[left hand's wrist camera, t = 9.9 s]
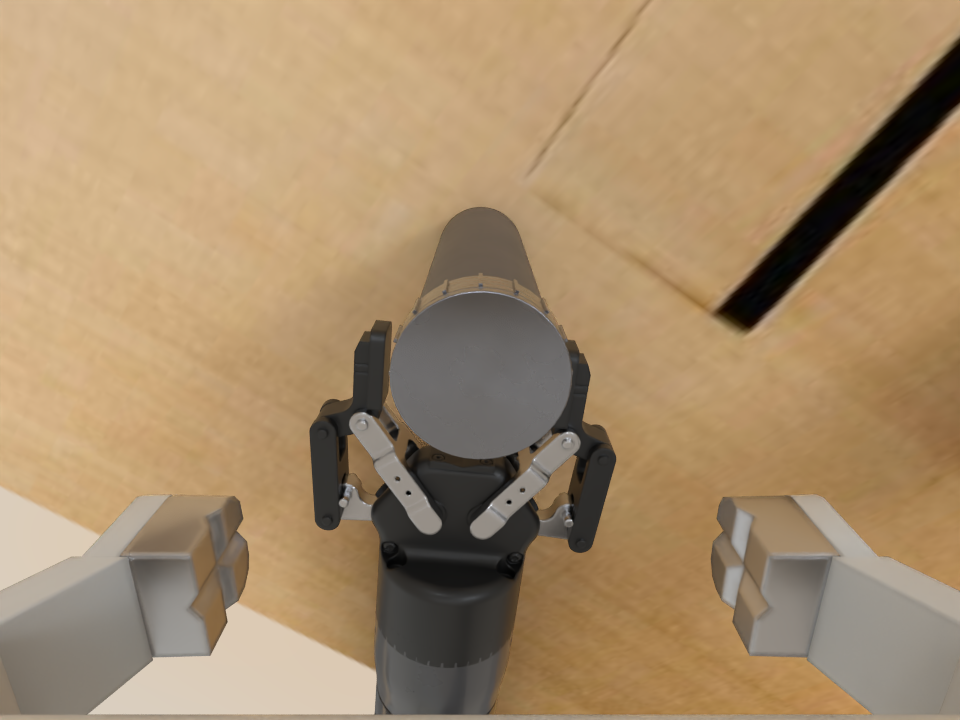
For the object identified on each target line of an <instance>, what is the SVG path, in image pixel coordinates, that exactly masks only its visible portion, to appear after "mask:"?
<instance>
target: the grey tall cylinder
mask: <svg viewBox="0 0 960 720" xmlns="http://www.w3.org/2000/svg"><path fill="white" fill-rule="evenodd" d="M479 273H483V276H493V277H499V278H503V279H507V280H510V281H512V282H513V279H515V280H517V282H518V284H520V285H521V286H523V287H525V288H527V289H528V290H530V291H531V292H533V293H534V294H535V295H537V296H538V297H539V298H540V299H541V296H540V293H539V290H538V287H537V284H536V281H535V278H534V275H533V272H532V269H531V266H530V264H529V261H528V258H527V255H526V252H525V249H524V246H523V243H522V240H521V237H520V235H519V232H518V230H517V228H516V226H515V225H514V224H513V222H512V221H511V220H510V219H509V218H508V217H507V216H505V215H504V214H502V213H501V212H499V211H497V210H494V209H490V208H485V207H477V208H471V209H467V210H465V211H462V212H461V213H459V214H457V215H456V216H455V217H453V218H452V219H451V220H450V221H449V223H448V224H447V225H446V227H445V229H444V231H443V233H442V236H441V238H440V241H439V244H438V247H437V250H436V253H435V256H434V259H433V262H432V265H431V268H430V271H429V274H428V277H427V279H426V282H425V285H424V288H423V291H422V294H421V297H420V299H422V298H423V297H424V296H425V295H426V294H428V293H429V292H430V291H432V290H433V289H435V288H437V287H438V286H440V285H442V284H444V280H447V279H448V281H452V280H455V279H459V278H462V277H469V276H479Z"/></svg>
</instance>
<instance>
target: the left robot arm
mask: <svg viewBox="0 0 960 720" xmlns="http://www.w3.org/2000/svg"><path fill="white" fill-rule="evenodd" d="M242 520H243V515H242V510H241V505H240V501H239V500H238V499H237V498H236V497H235V496H205V495H174V496H173V495H143V496H139V497H137V498H136V499H135V500H134V501H133V502H132V503H131V504H130V505H129V506H128V507H127V508H126V509H125V510H124V511H123V513H122V514H121V515H120V516H119V517H118V518H117V519H116V520H115V521H114V522H113V523H112V524H111V526H110V527H109V528H108V529H107V530H106V531H105V532H104V533H103V534H102V535H101V536H100V537H99V539H98V540H97V541H96V542H95V543H94V544H93V545H92V546H91V547H90V548H89V549H88V551H86V553H85V554H84V555H83V556H82V557H70V558H68V559H66V560H64V561H62V562H60V563H57V564H55V565H53V566H51V567H49V568H47V569H45V570H43V571H41V572H39V573H37V574H35V575H33V576H30V577H28V578H26V579H24V580H22V581H20V582H18V583H16V584H14V585H12V586H10V587H7V588H5V589H3V590H1V591H0V720H960V591H959V590H957V589H954V588H952V587H950V586H948V585H946V584H944V583H942V582H940V581H938V580H936V579H934V578H932V577H930V576H927V575H925V574H923V573H921V572H919V571H917V570H915V569H913V568H911V567H909V566H907V565H905V564H903V563H900V562H898V561H896V560H894V559H892V558H890V557H878V556H877V555H876V554H875V553H874V552H873V550H872V549H871V548H870V547H869V546H868V545H867V544H866V543H865V542H864V541H863V540H862V539H861V537H860V536H859V535H858V534H857V533H856V532H855V531H854V530H853V529H852V528H851V527H850V526H849V524H848V523H847V522H846V521H845V520H844V519H843V518H842V517H841V516H840V515H839V514H838V513H837V511H836V510H835V509H834V508H833V507H832V506H831V505H830V504H829V503H828V502H827V501H826V500H825V498H823V497H821V496H819V495H816V494H810V495H785V496H751V497H723V498H722V501H721V503H720V505H719V509H718V515H717V520H718V522H719V524H720V525H721V527H722V529H723V530H724V531H723V532H722V533H721V534H720V535H719V536H718V537H717V538H716V539H715V540H714V541H713V546H712V554H711V566H712V577H713V580H714V583H715V587H716V590H717V592H718V594H719V596H720V598H721V600H722V601H723V602H724V603H726V604H727V605H729V606H730V607H732V608H733V609H734V616H733V624H734V626H735V628H736V630H737V632H738V634H739V636H740V638H741V639H742V641H743V643H744V645H745V647H746V649H747V651H748V653H749V655H750V656H777V657H808V658H807V660H808V661H809V662H810V663H811V664H812V665H814V666H815V667H816V668H817V669H819V670H820V671H821V672H822V673H823V674H825V675H826V676H827V677H828V678H829V679H831V680H832V681H833V682H834V683H835V684H837V685H838V686H839V687H840V688H842V689H843V690H844V691H845V692H846V693H848V694H849V695H850V696H851V697H852V698H854V699H855V700H856V701H857V702H858V703H860V704H861V705H862V706H863V707H865V708H866V709H867V710H868V711H869V712H871V713H872V714H873V715H87V714H88V713H90V712H91V711H92V710H93V709H94V708H96V707H97V706H98V705H99V704H100V703H102V702H103V701H104V700H105V699H107V698H108V697H109V696H110V695H111V694H113V693H114V692H115V691H116V690H117V689H119V688H120V687H121V686H122V685H124V684H125V683H126V682H127V681H128V680H130V679H131V678H132V677H133V676H134V675H136V674H137V673H138V672H139V671H140V670H142V669H143V668H144V667H145V666H147V665H148V664H149V663H150V662H151V661H152V660H153V658H152V657H182V656H210V655H211V653H212V651H213V649H214V647H215V645H216V643H217V641H218V639H219V638H220V636H221V634H222V632H223V630H224V628H225V626H226V624H227V616H226V611H225V610H226V609H227V608H228V607H230V606H231V605H233V604H234V603H236V602H237V601H238V600H239V598H240V596H241V594H242V592H243V590H244V587H245V583H246V579H247V574H248V570H249V552H248V545H247V541H246V540H245V539H244V538H243V537H242V536H241V535H240V534H239V533H238V532H237V531H236V530H237V529H238V527H239V525H240V523H241V522H242Z"/></svg>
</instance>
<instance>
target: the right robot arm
mask: <svg viewBox="0 0 960 720" xmlns="http://www.w3.org/2000/svg"><path fill="white" fill-rule="evenodd" d="M391 334H392V322H390V321H380V320H376V322H375V324H374V326H373V327H372V329H371V332H367V331H365V332H364V334H363V336H362V338H361V339H360V341H359V343H358V345H357V347H356V350H355V354H354V383H353V397H352V398H350V399H348V400H344V401H339V400H336V399H330V400H328V401H326V402H325V403H324V404H323V406H322V408H321V410H320V413H319V415H318V417H317V419H316V420H315V421H314V422H313V424H312V426H311V428H310V447H311V463H312V479H313V495H314V511H315V522H316V524H317V525H318V526H319V527H320V528H322V529H324V530H333V529H335V528H337V527H338V525H339V523H340V520H341V519H344V520H371V521H372V522H373V524H374V526H375V527H376V529H377V531H378V533H379V537H380V548H379V566H378V584H377V602H376V621H375V638H374V657H375V665H376V673H377V685H376V702H375V715H495V713H496V707H497V700H498V693H499V689H500V685H501V682H502V680H503V677H504V674H505V670H506V667H507V663H508V659H509V653H510V647H511V641H512V634H513V628H514V622H515V615H516V609H517V603H518V596H519V590H520V584H521V578H522V571H523V565H524V559H525V554H526V550H527V548H528V547H529V545H530V544H531V542H532V541H533V540H534V539H535V538H536V537H537V535H540V536H547V537H554V538H562V539H568V544H569V547H570V549H571V550H573V551H574V552H578V553H582V552H586V551H588V550H589V549H590V548H591V547H592V545H593V541H594V538H595V534H596V530H597V527H598V523H599V520H600V516H601V513H602V509H603V505H604V502H605V498H606V495H607V491H608V488H609V484H610V481H611V477H612V473H613V470H614V466H615V463H616V455H615V453H614V450H613V448H612V445H611V443H610V440H609V438H608V435H607V433H606V430H605V429H604V428H603V427H602V426H600V425H589V424H587V423H585V422H583V421H582V419H583V414H584V408H585V403H586V397H587V392H588V386H589V381H590V371H589V367H588V363H587V361H586V359H585V357H584V354H582V353H579V350H578V347H577V345H576V342H575V341H573V340H568V342H566V346H567V349H568V351H569V355H570V360H571V366H572V370H573V375H572V385H571V390H570V395H569V398H568V401H567V404H566V406H565V408H564V410H563V412H562V414H561V416H560V417H559V419H558V420H557V422H556V423H555V425H554V426H553V427H552V428H551V429H550V430H549V431H548V432H547V433H546V434H545V435H544V436H543V437H542V438H541V439H539V440H538V441H537V442H535V443H534V444H532V445H531V446H529V447H527V448H525V449H523V450H521V451H519V452H516V453H514V454H511V455H508V456H504V457H499V458H492V459H469V458H462V457H458V456H454V455H451V454H448V453H445V452H442V451H440V450H438V449H436V448H434V447H432V446H431V445H428V446H425V447H422V446H421V445H420V443H419V442H418V441H417V439H416V438H415V436H414V435H413V434H412V432H411V431H410V430H409V428H408V427H407V425H406V424H404V423H403V422H402V423H401V422H399V420H398V419H397V418H396V416H395V415H394V414H393V412H392V411H391V410H390V408H389V407H388V405H387V404H386V403H385V399H386V396H387V394H388V388H389V369H390V352H391ZM351 434H354V435H355V436H356V437H357V438H358V440H359V441H360V442H361V444H362V445H363V446H364V448H365V449H366V450H367V452H368V453H369V454H370V456H371V457H372V459H373V464H374V467H375V469H376V471H377V472H378V474H379V475H380V476H381V478H382V479H383V480H384V482H385V483H384V484H383V485H382V486H381V487H380V488H379V490H378V491H377V493H376V495H371V494H368V493H367V492H366V491H365V490H364V489H363V487H362V483H361V481H360V479H359V478H358V477H357V475H356V474H354V473H351V474H349V466H348V440H347V435H351ZM572 455H575V456H577V459H576V463H575V467H574V470H573V474H572V478H571V482H570V486H569V490H568V494H567V493H565V492H563V493H560V494H559V496H558V497H557V498H556V499H555V500H554V502H553V504H552V506H551V507H549V508H548V509H545V510H538V506H537V504H536V502H535V501H534V499H533V496H534V495H536V494H537V493H538V492H539V491H540V490H541V489H542V488H543V487H545V485H546V484H547V483H548V481H549V478H550V476H551V474H552V473H553V472H554V471H555V470H556V469H557V468H559V467H560V466H561V465H562V464H563V463H564V462H565V461H566V460H568V459H569V458H570V457H571V456H572Z"/></svg>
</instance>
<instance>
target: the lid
mask: <svg viewBox="0 0 960 720" xmlns="http://www.w3.org/2000/svg"><path fill="white" fill-rule="evenodd" d="M393 342H395V343H396V345H395V348H394V350H393V354H392V358H391V362H390V369H389V375H390V387H391V392H392V396H393V399H394V402H395V405H396V407H397V409H398V411H399V413H400V415H401V417H402V418H403V419H404V421H405V422H406V424H407V425H408V426H409V427H410V428H411V430H412V431H413V432H414V433H415V434H416V435H417V436H419V437H420V438H421V439H422V440H423V441H425V442H426V443H428V444H429V445H431V446H432V447H434V448H436V449H438V450H440V451H442V452H445V453H448V454H451V455H454V456H458V457H462V458H469V459H492V458H499V457H504V456H508V455H511V454H514V453H516V452H519V451H521V450H523V449H525V448H527V447H529V446H531V445H532V444H534V443H535V442H537V441H538V440H539V439H541V438H542V437H543V436H544V435H545V434H546V433H547V432H548V431H549V430H550V429H551V428H552V427H553V426H554V425H555V423H556V422H557V420H558V419H559V417H560V416H561V414H562V412H563V410H564V408H565V406H566V404H567V401H568V398H569V395H570V390H571V385H572V375H573V370H572V366H571V360H570V355H569V351H568V349H567V346H566V342H568V340H567V337H566V335H565V332H564V330H563V327H562V325H560V326H559V325H558V323H557V321H556V319H555V317H554V315H553V314H552V312H551V311H550V309H549V308H548V306H547V303H546V301H545V299H544V298H542V299H540V298H539V297H538V296H537V295H535V294H534V293H533V292H531V291H530V290H528V289H527V288H525V287H523V286H521V285H520V284H518V282H517V280H515V279H513V282H512V281H510V280H507V279H503V278H499V277H493V276H483V273H479V276H469V277H462V278H459V279H455V280H452V281H448V279H447V280H444V284H442V285H440V286H438V287H437V288H435V289H433V290H432V291H430V292H429V293H428V294H426V295H425V296H424V297H423V298H422V299H420V298H418V299H417V300H416V302H415V305H414V308H413V309H412V310H411V312H410V313H409V315H408V316H407V318H406V320H405V322H404V324H403V326H401V325H400V326H399V328H398V331H397V333H396V336H395V339H394V341H393Z"/></svg>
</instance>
